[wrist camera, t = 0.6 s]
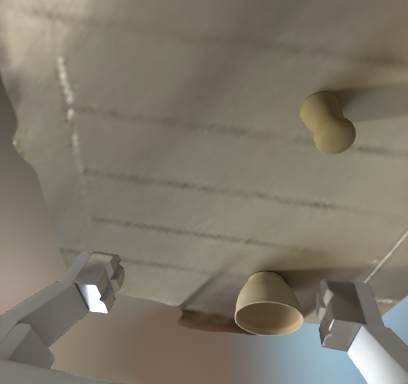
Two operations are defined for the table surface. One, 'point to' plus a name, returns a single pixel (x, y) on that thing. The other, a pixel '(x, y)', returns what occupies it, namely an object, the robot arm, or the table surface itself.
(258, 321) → the planter bowl
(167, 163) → the table surface
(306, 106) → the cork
